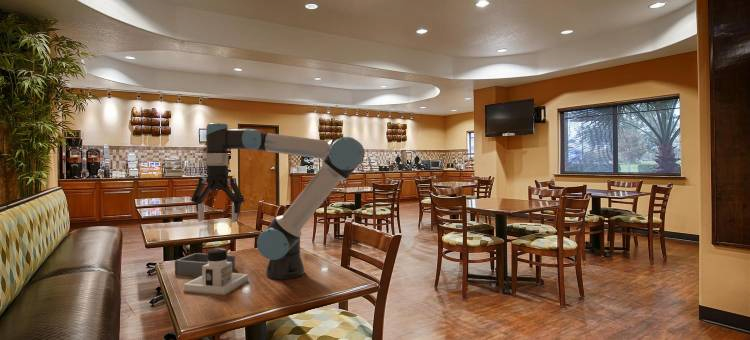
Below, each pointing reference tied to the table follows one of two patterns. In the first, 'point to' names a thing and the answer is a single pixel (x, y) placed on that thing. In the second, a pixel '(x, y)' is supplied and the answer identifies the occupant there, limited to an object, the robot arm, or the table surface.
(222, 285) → the container
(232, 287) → the tray
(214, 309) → the table surface
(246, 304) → the table surface
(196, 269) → the bay
